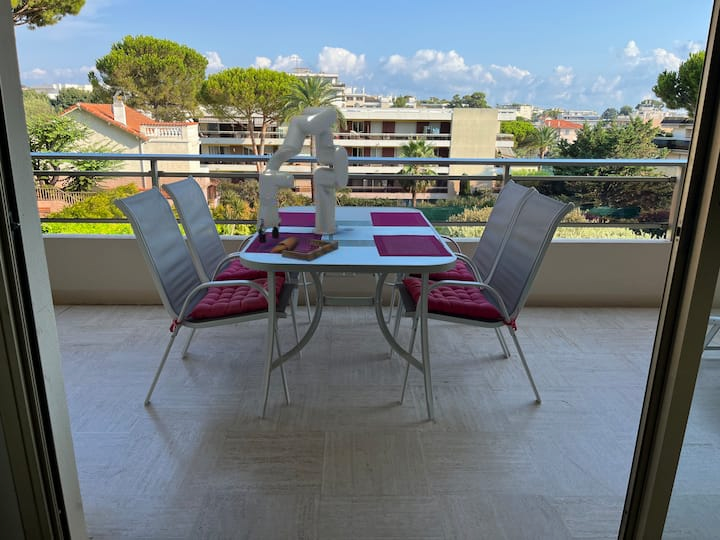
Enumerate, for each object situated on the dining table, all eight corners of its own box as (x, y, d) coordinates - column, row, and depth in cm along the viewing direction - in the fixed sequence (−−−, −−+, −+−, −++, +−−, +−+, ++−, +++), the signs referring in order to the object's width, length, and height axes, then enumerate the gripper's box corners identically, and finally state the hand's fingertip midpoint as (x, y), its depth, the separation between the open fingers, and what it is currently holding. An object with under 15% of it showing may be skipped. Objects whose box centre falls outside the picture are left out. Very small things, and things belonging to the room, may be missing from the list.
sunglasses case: (279, 243, 238) (286, 231, 236) (293, 251, 239) (300, 239, 237) (269, 253, 221) (276, 240, 219) (283, 262, 221) (291, 249, 220)
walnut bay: (311, 244, 237) (311, 238, 236) (338, 248, 232) (338, 241, 231) (281, 256, 216) (281, 249, 216) (309, 261, 211) (309, 254, 210)
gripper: (272, 198, 236) (273, 236, 241) (248, 203, 221) (249, 243, 226) (287, 200, 233) (287, 238, 238) (263, 205, 218) (264, 245, 223)
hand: (269, 240), depth 232 cm, fingers open, 9 cm apart
